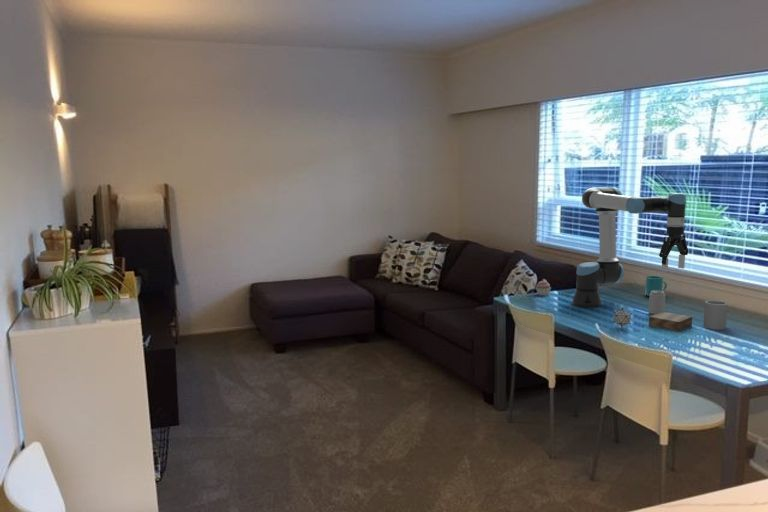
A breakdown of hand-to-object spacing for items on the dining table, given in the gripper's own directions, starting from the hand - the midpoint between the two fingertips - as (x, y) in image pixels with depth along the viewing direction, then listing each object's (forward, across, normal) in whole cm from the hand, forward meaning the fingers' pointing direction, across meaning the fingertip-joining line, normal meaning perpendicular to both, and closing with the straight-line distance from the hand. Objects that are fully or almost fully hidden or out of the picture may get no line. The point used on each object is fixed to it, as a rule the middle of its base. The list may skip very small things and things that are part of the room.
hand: (672, 269), depth 288 cm
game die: (+26, -28, +6) cm, 39 cm away
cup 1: (+26, +47, +38) cm, 66 cm away
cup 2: (+26, +7, -18) cm, 32 cm away
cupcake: (+26, -4, +78) cm, 83 cm away
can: (+26, +9, +13) cm, 31 cm away
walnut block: (+26, -7, -4) cm, 28 cm away
